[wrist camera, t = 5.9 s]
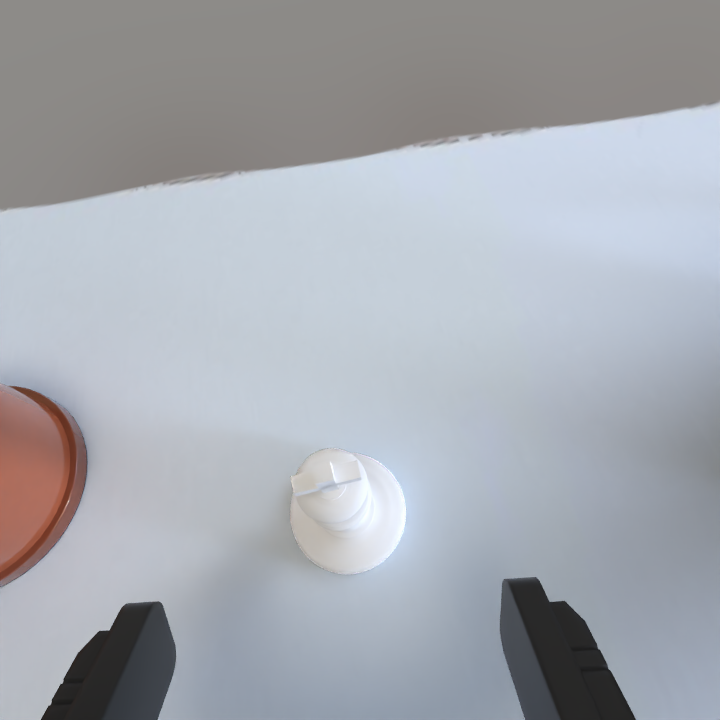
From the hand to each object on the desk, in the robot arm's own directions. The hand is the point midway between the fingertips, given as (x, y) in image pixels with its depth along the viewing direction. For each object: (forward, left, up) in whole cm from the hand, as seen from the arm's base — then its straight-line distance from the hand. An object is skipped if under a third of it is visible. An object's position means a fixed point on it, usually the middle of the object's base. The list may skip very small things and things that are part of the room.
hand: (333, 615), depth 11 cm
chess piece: (-2, -2, -9) cm, 9 cm away
